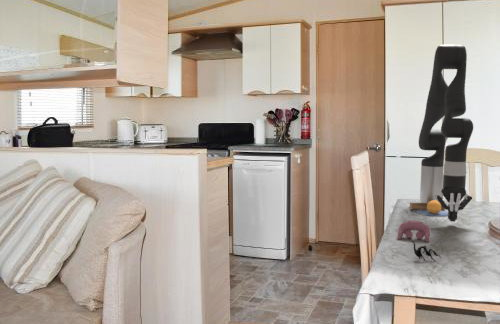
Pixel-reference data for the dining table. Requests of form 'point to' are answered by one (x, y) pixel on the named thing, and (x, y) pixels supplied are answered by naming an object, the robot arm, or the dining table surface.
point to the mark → (426, 212)
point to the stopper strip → (420, 206)
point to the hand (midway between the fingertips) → (452, 221)
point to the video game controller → (414, 225)
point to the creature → (419, 254)
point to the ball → (434, 207)
